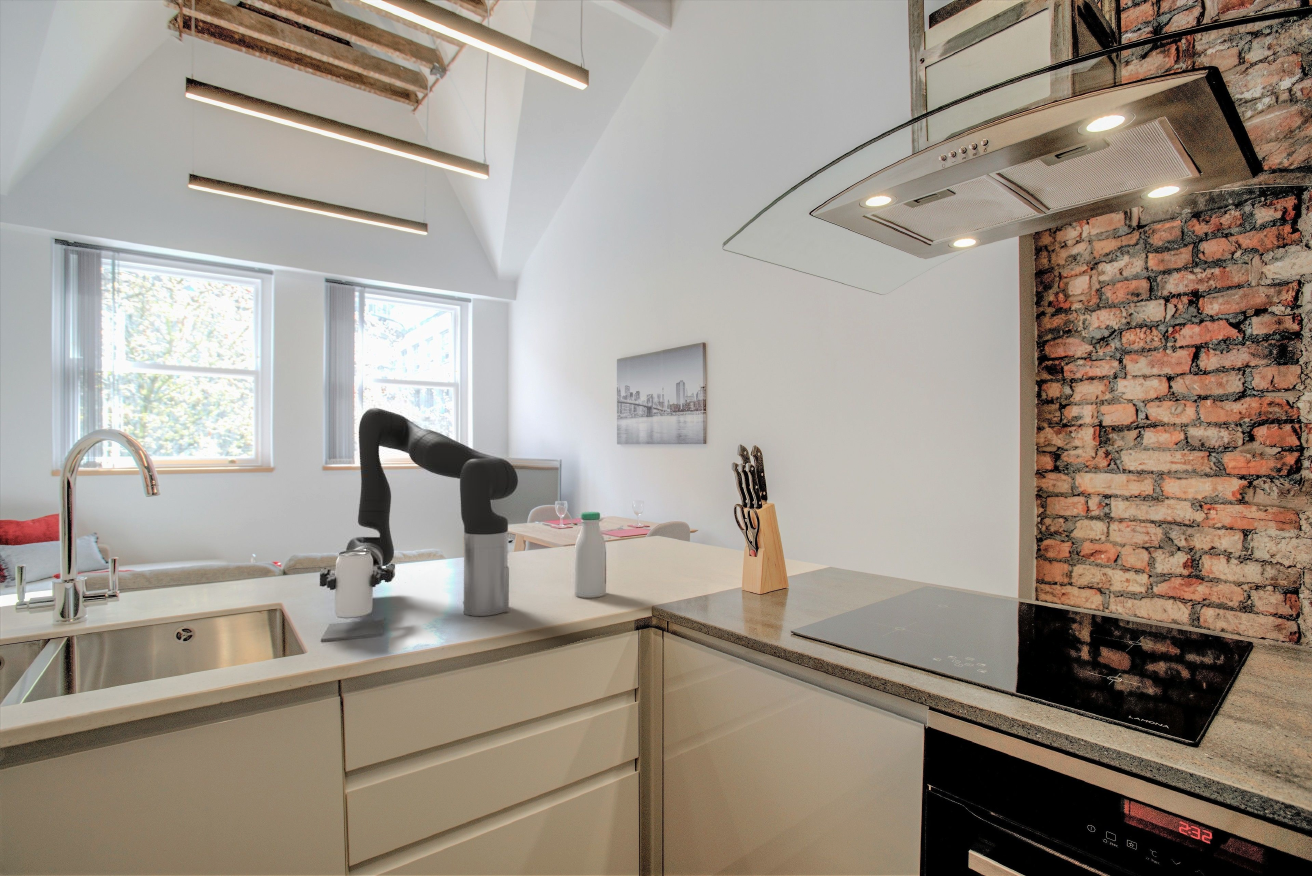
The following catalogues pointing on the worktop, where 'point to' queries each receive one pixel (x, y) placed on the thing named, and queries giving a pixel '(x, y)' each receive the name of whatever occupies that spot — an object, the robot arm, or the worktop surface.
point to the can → (353, 584)
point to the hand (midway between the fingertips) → (353, 583)
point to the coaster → (353, 630)
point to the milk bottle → (590, 558)
